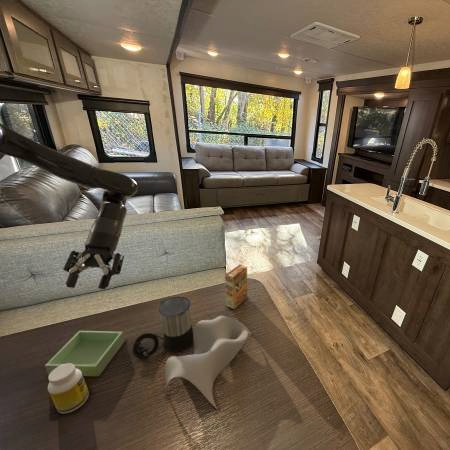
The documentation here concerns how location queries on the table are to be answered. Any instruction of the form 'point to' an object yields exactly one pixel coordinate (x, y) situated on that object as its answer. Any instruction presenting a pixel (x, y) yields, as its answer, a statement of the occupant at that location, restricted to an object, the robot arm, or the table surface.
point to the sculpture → (208, 353)
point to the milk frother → (170, 327)
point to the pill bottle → (67, 388)
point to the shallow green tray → (88, 351)
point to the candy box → (236, 286)
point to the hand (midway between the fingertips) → (86, 288)
